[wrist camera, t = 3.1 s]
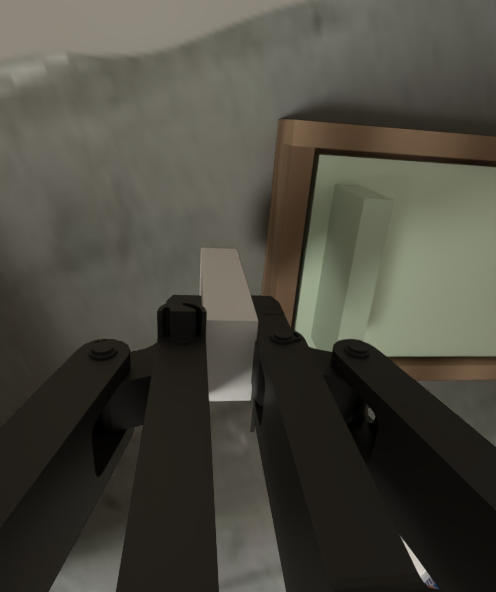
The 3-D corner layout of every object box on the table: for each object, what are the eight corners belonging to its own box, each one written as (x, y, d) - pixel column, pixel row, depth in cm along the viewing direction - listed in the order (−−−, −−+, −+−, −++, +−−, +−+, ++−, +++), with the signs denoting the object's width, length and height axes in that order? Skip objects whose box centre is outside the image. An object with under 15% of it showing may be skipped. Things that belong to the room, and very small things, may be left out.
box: (256, 347, 25) (265, 382, 22) (278, 119, 20) (294, 119, 16) (516, 348, 27) (558, 378, 24) (598, 145, 22) (665, 151, 19)
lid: (287, 346, 23) (308, 397, 19) (313, 152, 18) (347, 163, 14) (509, 347, 25) (572, 393, 21) (578, 171, 20) (674, 186, 16)
